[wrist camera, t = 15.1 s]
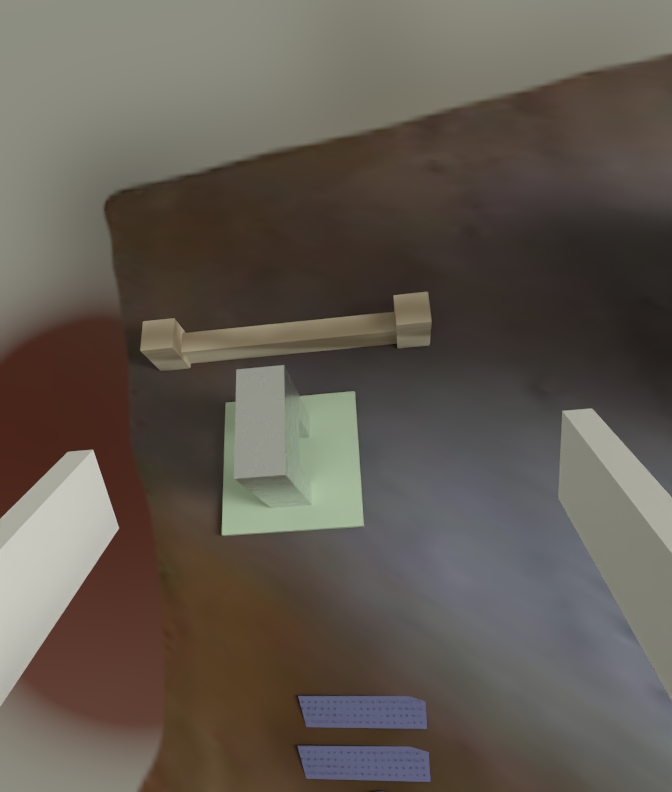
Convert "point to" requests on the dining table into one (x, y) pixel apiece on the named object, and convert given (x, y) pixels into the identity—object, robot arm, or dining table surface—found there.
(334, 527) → the pad
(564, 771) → the dining table surface
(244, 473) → the tall grey upright block
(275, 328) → the rail stand
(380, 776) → the signage
